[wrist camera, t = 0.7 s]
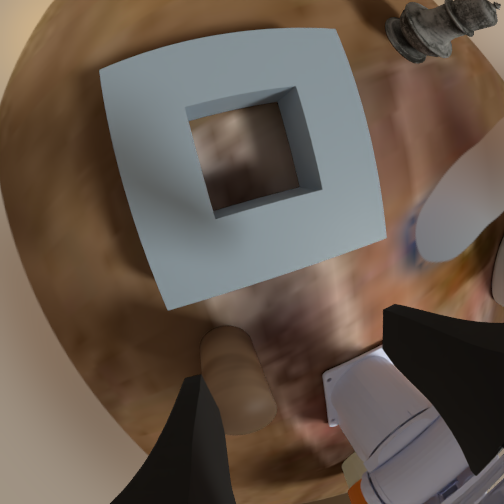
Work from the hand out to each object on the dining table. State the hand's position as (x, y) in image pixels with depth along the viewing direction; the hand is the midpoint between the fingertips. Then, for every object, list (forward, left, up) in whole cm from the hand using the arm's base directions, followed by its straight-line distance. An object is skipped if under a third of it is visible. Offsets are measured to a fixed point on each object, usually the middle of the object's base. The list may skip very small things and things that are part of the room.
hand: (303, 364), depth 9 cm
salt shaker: (+17, -20, -10) cm, 28 cm away
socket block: (+8, -2, -10) cm, 13 cm away
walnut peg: (-5, +3, -10) cm, 12 cm away
